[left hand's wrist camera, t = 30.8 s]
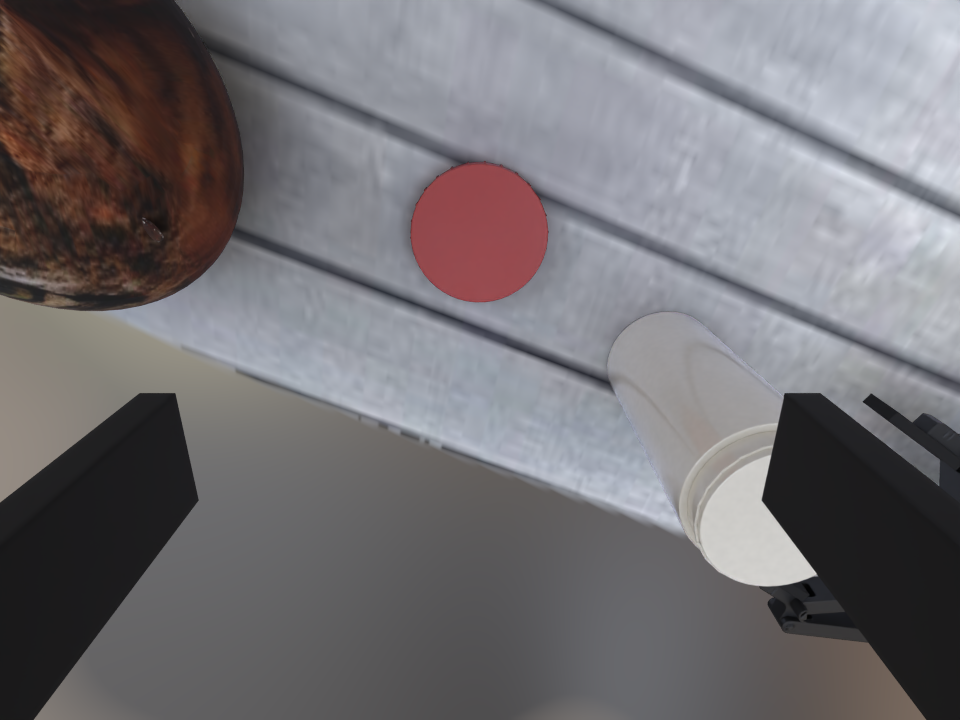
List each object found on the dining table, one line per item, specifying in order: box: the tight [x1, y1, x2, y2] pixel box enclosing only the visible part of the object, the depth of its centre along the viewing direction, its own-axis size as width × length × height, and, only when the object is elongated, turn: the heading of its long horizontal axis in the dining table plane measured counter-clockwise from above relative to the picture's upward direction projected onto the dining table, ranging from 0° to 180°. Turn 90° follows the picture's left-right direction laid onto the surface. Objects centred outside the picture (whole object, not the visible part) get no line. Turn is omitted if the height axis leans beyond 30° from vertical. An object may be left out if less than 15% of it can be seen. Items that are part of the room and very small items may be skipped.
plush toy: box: [0, 0, 244, 311], centre depth 31 cm, size 22×18×20 cm
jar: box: [607, 311, 817, 586], centre depth 35 cm, size 8×8×19 cm
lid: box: [410, 161, 548, 302], centre depth 39 cm, size 9×9×2 cm
